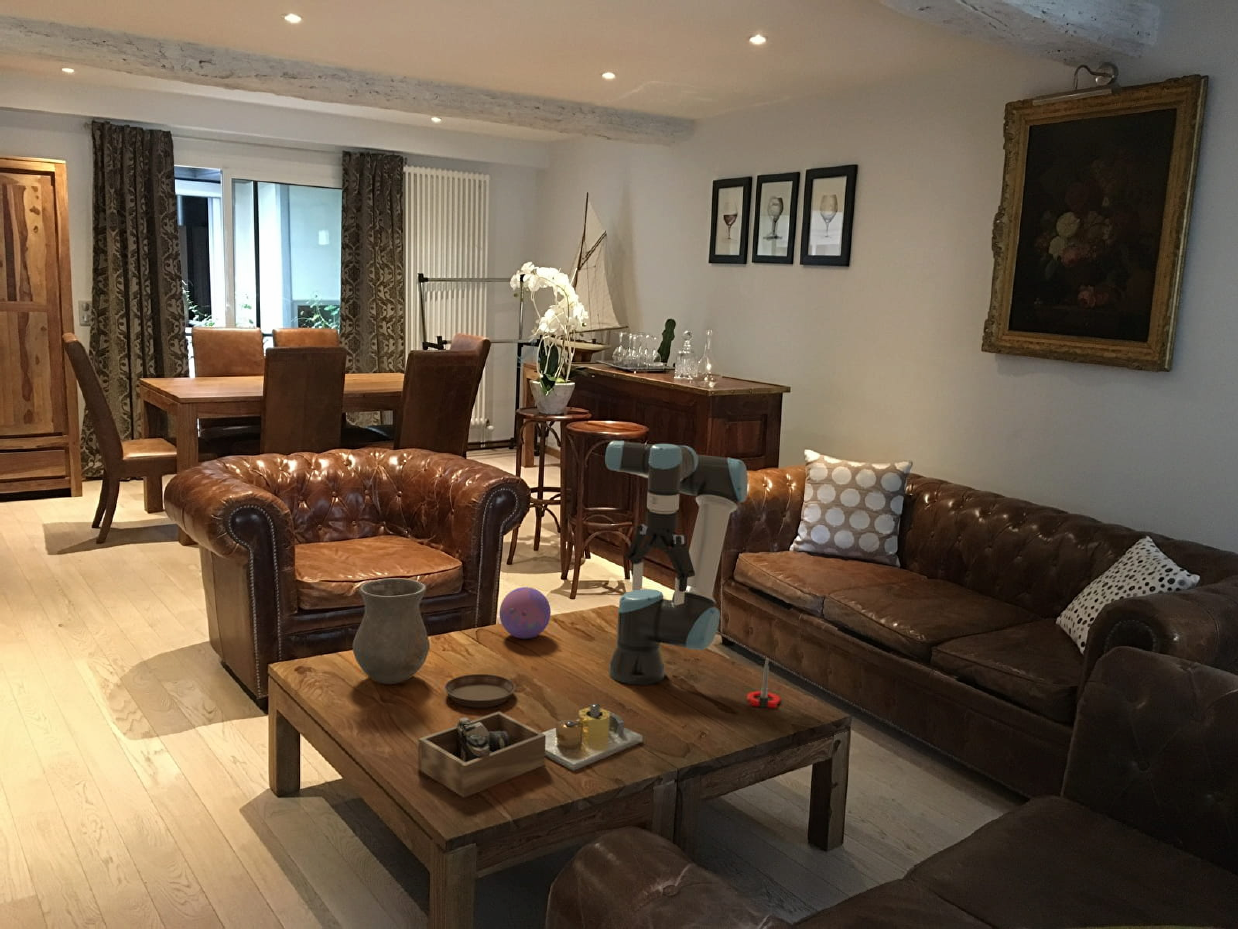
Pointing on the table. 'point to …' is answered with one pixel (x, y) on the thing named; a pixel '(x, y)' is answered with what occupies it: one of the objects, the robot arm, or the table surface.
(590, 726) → the gear
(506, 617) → the decorative ball
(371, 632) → the vase
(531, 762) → the camera caddy
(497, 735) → the camera
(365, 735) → the table surface
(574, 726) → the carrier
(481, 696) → the plant saucer
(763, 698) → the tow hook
